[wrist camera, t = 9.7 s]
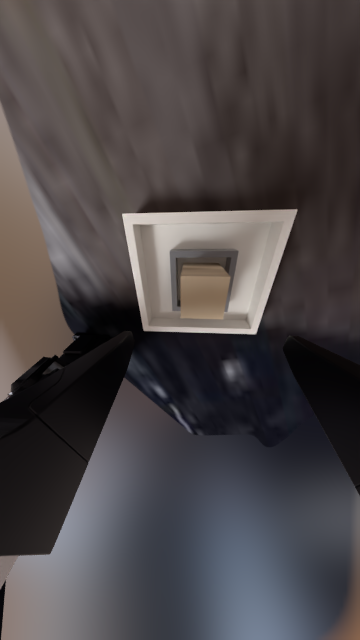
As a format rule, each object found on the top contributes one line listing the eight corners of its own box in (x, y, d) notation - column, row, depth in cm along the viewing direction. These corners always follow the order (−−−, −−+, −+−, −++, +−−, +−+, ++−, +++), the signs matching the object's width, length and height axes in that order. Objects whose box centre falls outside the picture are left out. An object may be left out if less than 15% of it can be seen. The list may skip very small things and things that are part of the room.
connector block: (214, 295, 19) (222, 319, 13) (183, 294, 19) (180, 318, 14) (218, 262, 16) (230, 276, 11) (183, 262, 17) (180, 276, 12)
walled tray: (248, 321, 21) (255, 334, 19) (149, 319, 22) (143, 330, 20) (278, 213, 14) (297, 209, 12) (133, 216, 15) (122, 213, 13)
